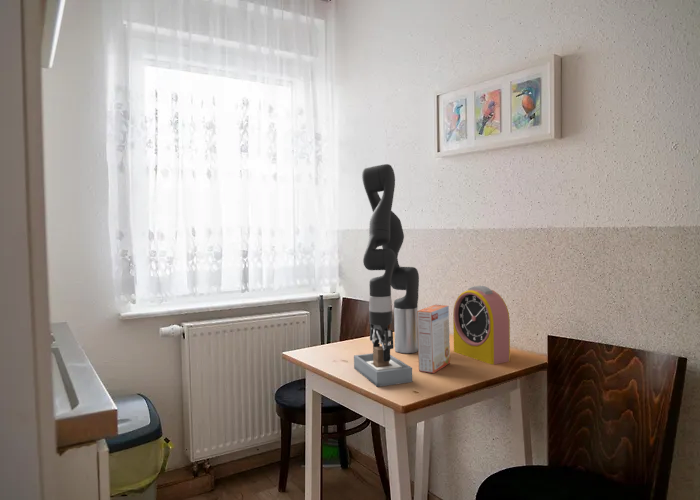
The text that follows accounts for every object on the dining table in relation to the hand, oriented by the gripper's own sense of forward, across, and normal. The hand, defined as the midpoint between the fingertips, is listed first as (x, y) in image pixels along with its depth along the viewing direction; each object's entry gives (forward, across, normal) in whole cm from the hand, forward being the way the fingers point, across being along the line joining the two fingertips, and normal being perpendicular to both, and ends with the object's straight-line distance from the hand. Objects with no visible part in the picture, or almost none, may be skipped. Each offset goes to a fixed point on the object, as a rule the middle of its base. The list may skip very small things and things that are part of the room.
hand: (381, 357), depth 156 cm
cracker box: (+6, 0, -20) cm, 21 cm away
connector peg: (+5, 0, 0) cm, 5 cm away
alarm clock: (+6, +6, -43) cm, 44 cm away
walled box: (+6, 0, 0) cm, 6 cm away
